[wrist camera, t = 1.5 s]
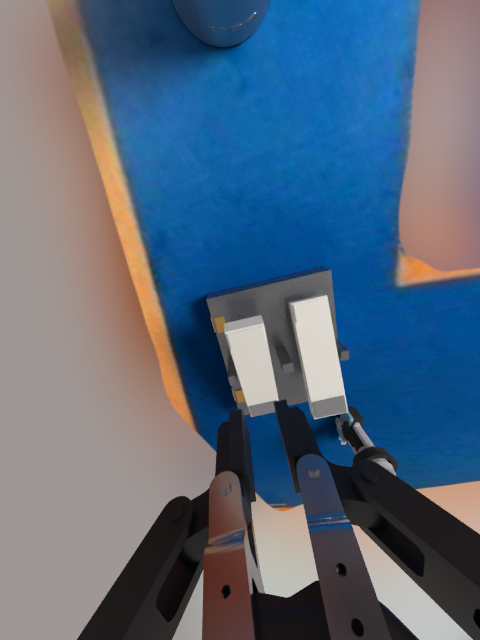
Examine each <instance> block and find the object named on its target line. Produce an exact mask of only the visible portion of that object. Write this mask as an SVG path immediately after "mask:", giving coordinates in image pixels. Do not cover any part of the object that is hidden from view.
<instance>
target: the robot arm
mask: <svg viewBox="0 0 480 640" xmlns="http://www.w3.org/2000/svg"><path fill="white" fill-rule="evenodd" d="M172 1H173V3H174V6H175V8H176V11H177V13H178V15H179V16H180V18H181V20H182V21H183V23H184V25H185V26H186V27H187V28H188V29H189V30H190V32H191V33H192V34H193V35H195V36H196V37H197V38H199V39H200V40H201V41H203V42H205V43H207V44H209V45H212V46H217V47H229V46H234V45H236V44H239V43H241V42H243V41H244V40H246V39H247V38H248V37H249V36H251V35H252V34H253V33H254V31H255V30H256V29H257V28H258V26H259V25H260V23H261V21H262V19H263V18H264V16H265V14H266V11H267V8H268V5H269V2H270V0H172ZM273 403H274V407H275V412H276V416H277V421H278V425H279V429H280V433H281V437H282V441H283V445H284V449H285V453H286V457H287V460H288V464H289V468H290V472H291V476H292V480H293V484H294V488H295V491H296V493H299V492H300V493H301V496H302V500H303V504H304V509H305V514H306V519H307V524H308V529H309V534H310V539H311V543H312V548H313V553H314V559H315V563H316V568H317V573H318V578H319V581H315V582H313V583H312V584H310V585H308V586H307V587H305V588H304V589H302V590H300V591H299V592H297V593H296V594H294V595H292V596H291V597H288V598H285V597H280V596H275V595H270V594H265V592H264V587H263V583H262V579H261V574H260V567H259V561H258V554H257V548H256V540H255V534H254V527H253V521H252V514H251V502H254V501H256V496H255V486H254V476H253V466H252V456H251V446H250V437H249V432H248V428H247V424H246V421H245V417H244V414H243V410H242V409H237V410H233V411H229V421H228V422H223V423H222V424H221V426H220V428H219V430H218V438H217V439H218V441H217V455H216V473H215V478H214V479H213V480H212V482H211V484H210V487H209V489H208V490H207V491H206V492H204V493H203V494H201V495H200V496H198V497H196V498H194V499H193V500H191V501H190V499H189V498H187V497H185V496H179V497H176V498H174V499H172V500H171V501H170V502H169V503H168V504H167V505H166V506H165V507H164V509H163V511H162V512H161V513H160V515H159V516H158V518H157V520H156V521H155V523H154V524H153V526H152V527H151V529H150V530H149V532H148V533H147V535H146V536H145V538H144V539H143V541H142V542H141V544H140V545H139V547H138V548H137V550H136V551H135V553H134V554H133V556H132V557H131V559H130V560H129V562H128V563H127V565H126V567H125V568H124V569H123V571H122V572H121V574H120V576H119V577H118V578H117V580H116V581H115V583H114V585H113V586H112V588H111V589H110V591H109V592H108V594H107V595H106V597H105V598H104V600H103V601H102V603H101V604H100V606H99V607H98V609H97V610H96V612H95V613H94V615H93V616H92V618H91V619H90V621H89V622H88V624H87V625H86V627H85V628H84V630H83V631H82V633H81V634H80V636H79V637H78V639H77V640H172V638H173V636H174V634H175V631H176V629H177V627H178V625H179V622H180V620H181V618H182V616H183V613H184V611H185V609H186V607H187V604H188V602H189V600H190V598H191V595H192V593H193V591H194V589H195V587H196V584H197V582H198V580H199V578H200V575H201V573H202V571H203V569H204V572H203V621H202V640H419V639H418V638H417V637H416V636H415V635H414V634H413V633H412V632H411V631H410V630H409V629H408V628H407V627H406V626H405V625H404V624H403V623H402V622H401V621H400V620H399V619H398V618H397V617H396V616H395V615H394V614H393V613H392V612H391V611H390V610H389V609H388V608H387V607H386V606H384V605H383V604H382V603H381V602H379V601H378V599H377V597H376V593H375V591H374V588H373V585H372V582H371V579H370V576H369V573H368V571H367V568H366V565H365V562H364V559H363V556H362V554H361V551H360V548H359V545H358V542H357V539H356V537H355V534H354V531H353V528H352V525H351V524H353V525H357V526H359V527H360V528H361V529H362V530H363V531H364V532H365V533H366V534H367V535H368V536H369V537H370V538H371V539H372V540H373V541H374V542H375V543H376V544H377V545H378V546H379V547H380V548H381V549H382V550H383V551H384V552H385V553H386V554H387V555H388V556H389V557H390V558H391V559H392V560H393V561H394V562H395V563H396V564H397V565H398V566H399V567H400V568H401V569H402V570H403V571H404V572H405V573H406V574H407V575H408V576H410V578H412V580H413V581H415V583H417V585H418V586H419V587H420V588H422V589H423V590H424V591H425V592H426V593H427V594H428V595H429V596H430V597H431V598H432V599H433V600H434V601H435V602H436V603H437V604H438V605H439V606H440V607H441V608H442V609H443V610H444V611H445V612H446V613H447V614H448V615H449V616H450V617H451V618H452V619H453V620H454V621H455V622H456V623H457V624H458V625H459V626H460V627H461V628H462V629H463V630H464V631H465V632H466V633H467V634H468V635H469V636H470V637H471V638H472V639H473V640H480V534H478V533H477V532H475V531H474V530H473V529H471V528H470V527H468V526H467V525H465V524H464V523H462V522H461V521H460V520H458V519H457V518H455V517H454V516H453V515H451V514H450V513H448V512H447V511H445V510H444V509H442V508H441V507H440V506H438V505H437V504H435V503H434V502H432V501H431V500H430V499H428V498H427V497H425V496H424V495H422V494H421V493H420V492H418V491H416V490H415V489H414V488H412V487H411V486H410V485H408V484H407V483H405V482H404V481H402V480H401V479H400V478H398V477H397V476H395V475H394V474H392V473H391V472H389V471H388V470H387V469H385V468H384V467H382V466H381V465H379V464H378V463H376V462H374V461H371V460H359V461H356V462H355V463H354V464H353V465H352V467H346V466H339V465H335V464H332V463H330V462H329V461H327V460H326V459H325V458H324V457H323V456H322V454H321V452H320V450H319V448H318V445H317V443H316V441H315V438H314V436H313V433H312V431H311V429H310V426H309V424H308V422H307V419H306V417H305V414H304V412H303V411H302V410H301V409H299V408H298V407H293V408H289V407H288V404H287V401H286V399H283V400H279V401H274V402H273Z"/></svg>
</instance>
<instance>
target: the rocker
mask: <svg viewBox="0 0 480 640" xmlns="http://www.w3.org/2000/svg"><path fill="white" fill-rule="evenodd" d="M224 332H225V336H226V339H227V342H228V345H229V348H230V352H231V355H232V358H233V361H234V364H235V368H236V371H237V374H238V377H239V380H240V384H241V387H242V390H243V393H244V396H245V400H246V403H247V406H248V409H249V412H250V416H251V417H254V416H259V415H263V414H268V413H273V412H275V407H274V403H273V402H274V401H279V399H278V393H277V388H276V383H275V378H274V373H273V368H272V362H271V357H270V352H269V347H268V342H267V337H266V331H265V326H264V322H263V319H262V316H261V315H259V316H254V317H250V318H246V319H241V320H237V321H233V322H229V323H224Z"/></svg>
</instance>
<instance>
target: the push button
mask: <svg viewBox="0 0 480 640" xmlns="http://www.w3.org/2000/svg"><path fill="white" fill-rule="evenodd" d="M337 420H338V423H337ZM335 422H336V424H337V431H338V433H339V435H340V436H339V440H342V442H341V444H343V445H345V444H346V442H348V444H349V445H350V446H351V448H352V450H353V451H354V453H355V457H354V459H353V464H354V463H355V462H356V461H359V460H371V461H374V462H376V463H378V464H379V465H381V466H382V467H384V468H385V469H387V470H388V471H389V472H391V473H392V474H394V475H395V476H396V471H397V468H398V464H397V461H396V460H395V459H394V457H393V456H391V455H390V454H389V453H388V452H387V451H386V450H385V449H384V448H379V447H375V446H374V445H373V443H372V442H371V441H370V439H369V438H368V436H367V435H366V433H365V431H364V429H363V428H362V423H363V418H362V416H361V415H360V413H359V412H358V411H357V409H356V408H348V412H347V413H342V414H340V418H339V419H338V417H336V420H335ZM340 437H341V438H340ZM343 441H344V442H345V443H343Z"/></svg>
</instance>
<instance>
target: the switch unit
mask: <svg viewBox="0 0 480 640" xmlns="http://www.w3.org/2000/svg"><path fill="white" fill-rule="evenodd" d="M318 295H327V297H328V303H329V308H330V314H331V319H332V325H333V330H334V336H335V341H336V347H337V353H338V358H340V359H341V360H342V361H344V360H349V351H348V349H347V348H346V347H345V346H344V345H343V344H342V343H341V342H339V341H338V339H337V328H336V317H335V307H334V296H333V285H332V274H331V269H328V268H325V267H320V268H315V269H311V270H307V271H303V272H299V273H294V274H290V275H286V276H282V277H278V278H274V279H269V280H265V281H261V282H257V283H253V284H248V285H244V286H240V287H236V288H232V289H227V290H223V291H219V292H215V293H211V294H208V296H207V298H206V301H207V304H208V307H209V311H210V314H211V321H212V325H213V328H214V332H216V335H217V338H218V342H219V345H220V348H221V352H222V355H223V359H224V362H225V365H226V369H227V372H228V380H229V383H230V386H232V393H233V396H234V399H235V401H236V403H237V406H238V409H242V410H243V414H244V415H247V414H250V412H249V409H248V406H247V403H246V400H245V396H244V393H243V390H242V387H241V384H240V380H239V377H238V374H237V371H236V368H235V364H234V361H233V358H232V355H231V352H230V348H229V345H228V342H227V339H226V336H225V332H224V323H229V322H233V321H237V320H241V319H246V318H250V317H254V316H259V315H261V316H262V319H263V322H264V326H265V331H266V337H267V342H268V347H269V352H270V357H271V362H272V368H273V373H274V378H275V383H276V388H277V393H278V399H279V400H283V399H286V401H287V404H288V406H289V405H294V404H298V403H303V402H307V401H308V397H307V392H306V387H305V383H304V378H303V373H302V368H301V363H300V358H299V353H298V349H297V344H296V339H295V334H294V329H293V324H292V319H291V315H290V310H289V305H288V302H292V301H297V300H301V299H305V298H309V297H314V296H318ZM339 364H340V361H339Z"/></svg>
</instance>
